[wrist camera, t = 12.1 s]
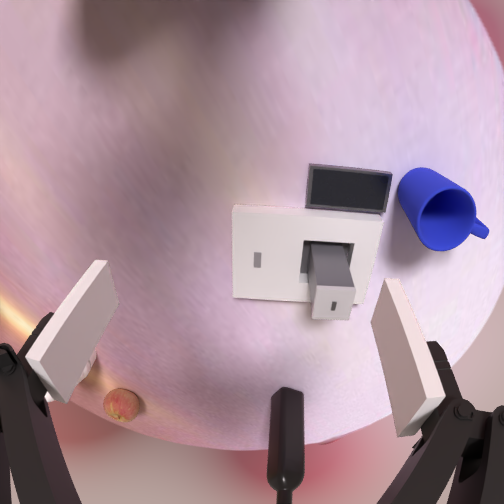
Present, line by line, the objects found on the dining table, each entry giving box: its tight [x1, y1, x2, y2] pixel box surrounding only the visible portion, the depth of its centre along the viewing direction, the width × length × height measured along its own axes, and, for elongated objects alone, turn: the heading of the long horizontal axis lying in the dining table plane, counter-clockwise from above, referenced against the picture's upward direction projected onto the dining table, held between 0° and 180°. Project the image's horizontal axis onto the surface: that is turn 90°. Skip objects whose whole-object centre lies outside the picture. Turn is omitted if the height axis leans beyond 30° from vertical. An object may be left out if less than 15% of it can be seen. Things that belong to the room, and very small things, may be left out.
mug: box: [398, 168, 489, 251], centre depth 36 cm, size 8×12×10 cm
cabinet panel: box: [232, 204, 384, 304], centre depth 46 cm, size 14×20×3 cm
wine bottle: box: [267, 387, 305, 504], centre depth 53 cm, size 6×6×30 cm
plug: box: [307, 241, 356, 320], centre depth 42 cm, size 5×5×11 cm
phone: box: [306, 164, 393, 213], centre depth 41 cm, size 6×11×1 cm, turn 89°
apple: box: [103, 389, 139, 422], centre depth 69 cm, size 9×9×8 cm
